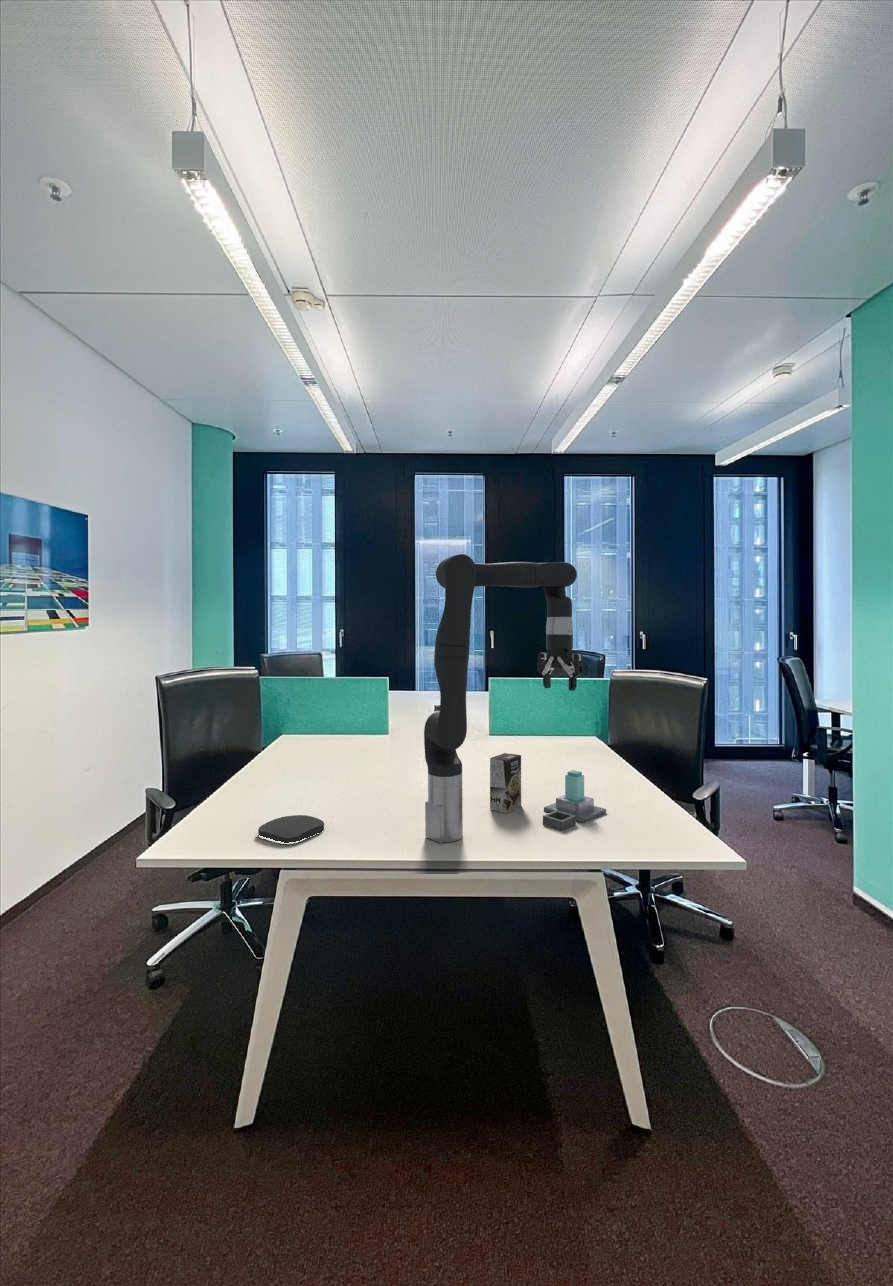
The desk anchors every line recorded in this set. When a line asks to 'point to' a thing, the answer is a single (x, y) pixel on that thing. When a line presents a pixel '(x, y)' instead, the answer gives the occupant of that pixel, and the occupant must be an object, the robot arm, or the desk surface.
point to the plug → (574, 786)
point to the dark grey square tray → (559, 820)
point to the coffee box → (505, 782)
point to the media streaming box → (291, 828)
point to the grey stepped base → (577, 808)
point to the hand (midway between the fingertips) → (559, 689)
